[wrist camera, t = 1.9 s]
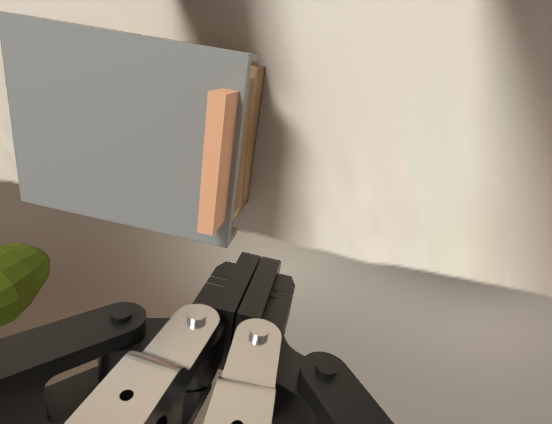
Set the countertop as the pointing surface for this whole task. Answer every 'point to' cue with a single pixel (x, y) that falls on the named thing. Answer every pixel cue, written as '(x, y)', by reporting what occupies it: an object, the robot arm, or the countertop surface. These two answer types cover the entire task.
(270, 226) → the countertop surface
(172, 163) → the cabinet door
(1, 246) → the green faceted ovoid
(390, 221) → the countertop surface
